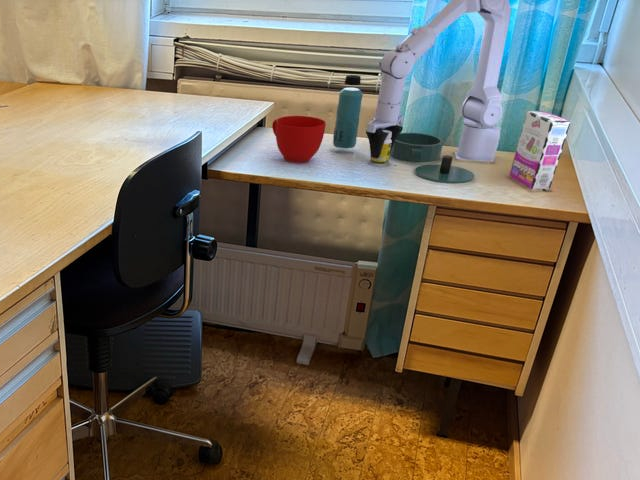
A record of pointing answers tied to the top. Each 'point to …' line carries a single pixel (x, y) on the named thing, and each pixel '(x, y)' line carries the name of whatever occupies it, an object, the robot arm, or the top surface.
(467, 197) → the top surface
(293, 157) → the ceramic cup
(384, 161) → the supplement bottle
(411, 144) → the pot
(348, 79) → the beverage bottle
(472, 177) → the lid
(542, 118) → the candy bar box
